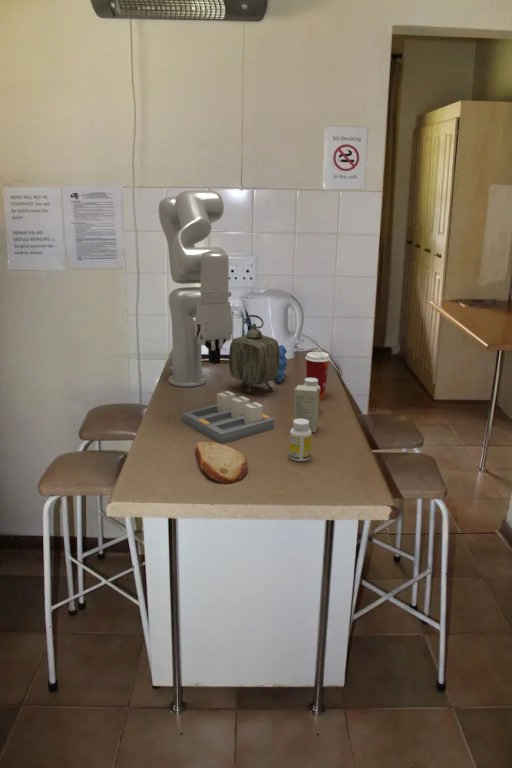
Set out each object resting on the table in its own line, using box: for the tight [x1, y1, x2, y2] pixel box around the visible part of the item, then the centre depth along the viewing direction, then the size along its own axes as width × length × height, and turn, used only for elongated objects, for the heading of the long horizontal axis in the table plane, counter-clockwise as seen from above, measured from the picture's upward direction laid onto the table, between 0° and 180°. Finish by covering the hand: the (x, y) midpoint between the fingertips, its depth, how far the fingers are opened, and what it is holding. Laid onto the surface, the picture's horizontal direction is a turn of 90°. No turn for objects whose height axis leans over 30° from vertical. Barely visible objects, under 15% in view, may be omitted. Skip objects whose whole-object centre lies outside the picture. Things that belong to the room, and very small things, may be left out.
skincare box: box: [293, 384, 320, 433], centre depth 183 cm, size 6×4×12 cm
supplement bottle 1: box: [288, 419, 313, 462], centre depth 166 cm, size 5×5×10 cm
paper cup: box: [305, 351, 331, 400], centre depth 209 cm, size 8×8×14 cm
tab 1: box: [231, 395, 251, 418], centre depth 188 cm, size 3×4×6 cm
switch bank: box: [181, 403, 275, 444], centre depth 186 cm, size 19×18×3 cm
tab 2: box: [244, 401, 264, 425], centre depth 184 cm, size 3×4×6 cm
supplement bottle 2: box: [303, 377, 321, 413], centre depth 196 cm, size 6×6×10 cm
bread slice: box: [194, 441, 249, 485], centre depth 162 cm, size 18×18×4 cm
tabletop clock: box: [228, 314, 280, 393], centre depth 211 cm, size 14×9×25 cm, turn 53°
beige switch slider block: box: [216, 390, 236, 412], centre depth 192 cm, size 3×4×6 cm
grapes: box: [274, 344, 288, 383], centre depth 224 cm, size 12×7×12 cm, turn 171°
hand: (214, 362), depth 185 cm, fingers closed
